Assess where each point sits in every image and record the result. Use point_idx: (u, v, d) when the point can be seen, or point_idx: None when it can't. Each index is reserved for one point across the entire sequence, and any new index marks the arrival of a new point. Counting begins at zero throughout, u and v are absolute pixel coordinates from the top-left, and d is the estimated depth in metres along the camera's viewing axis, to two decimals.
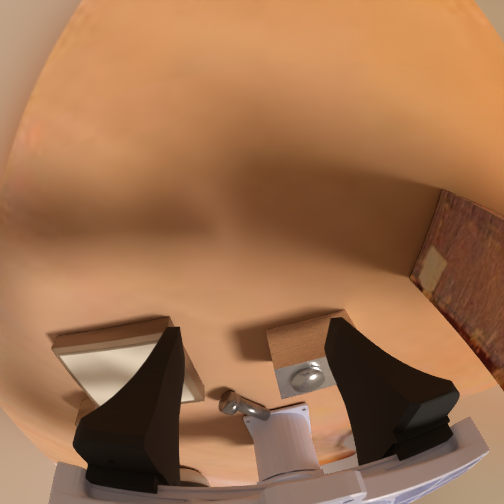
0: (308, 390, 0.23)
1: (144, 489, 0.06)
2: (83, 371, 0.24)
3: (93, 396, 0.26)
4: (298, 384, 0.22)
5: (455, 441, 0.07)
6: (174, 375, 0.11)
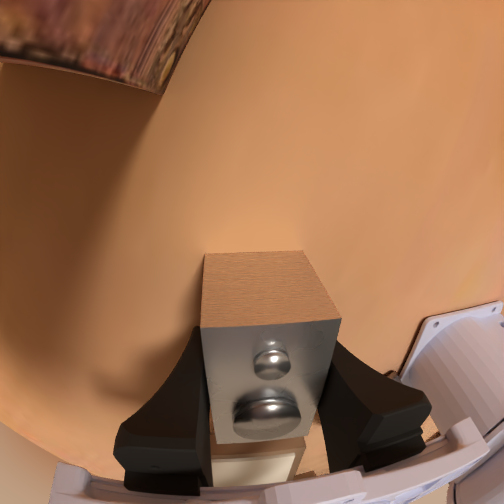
0: (295, 422, 0.11)
1: (144, 489, 0.06)
2: None
3: None
4: (263, 434, 0.11)
5: (455, 441, 0.07)
6: None
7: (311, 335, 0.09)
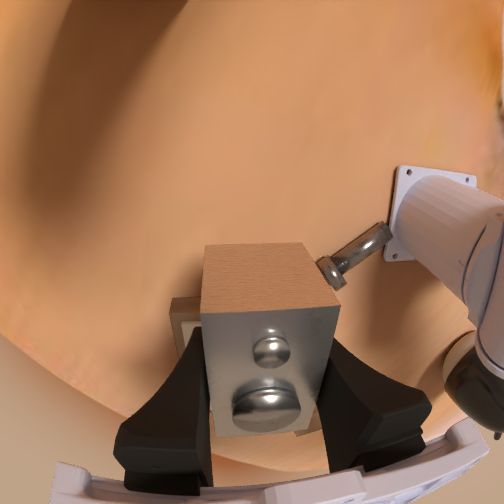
0: (294, 414, 0.11)
1: (144, 489, 0.06)
2: None
3: None
4: (263, 426, 0.11)
5: (455, 441, 0.07)
6: (206, 375, 0.11)
7: (311, 322, 0.09)
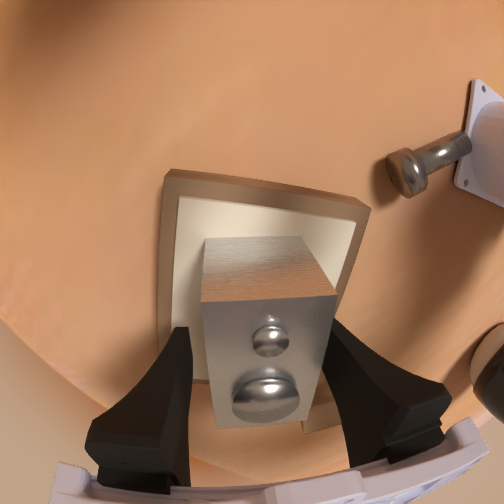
0: (293, 404, 0.11)
1: (144, 489, 0.06)
2: None
3: None
4: (262, 417, 0.11)
5: (455, 441, 0.07)
6: (184, 375, 0.11)
7: (309, 311, 0.10)
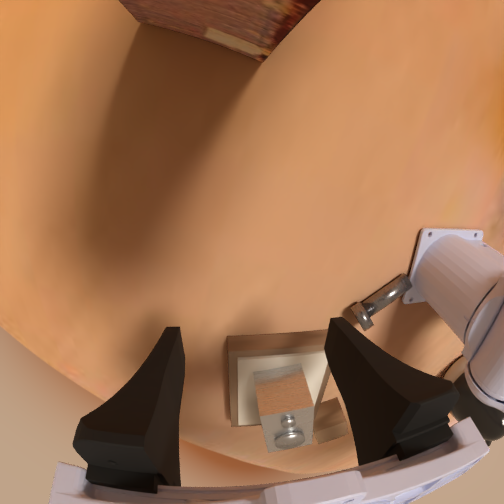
0: (302, 440, 0.23)
1: (144, 489, 0.06)
2: (259, 416, 0.29)
3: None
4: (289, 446, 0.23)
5: (455, 441, 0.07)
6: (174, 375, 0.11)
7: (302, 412, 0.21)
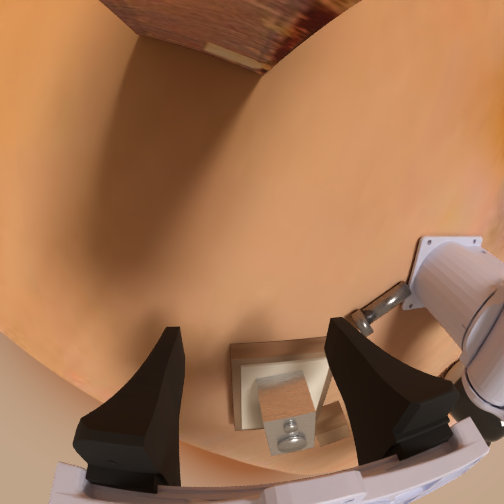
0: (304, 444, 0.23)
1: (144, 489, 0.06)
2: (262, 421, 0.29)
3: None
4: (292, 450, 0.24)
5: (455, 441, 0.07)
6: (174, 375, 0.11)
7: (304, 417, 0.22)
